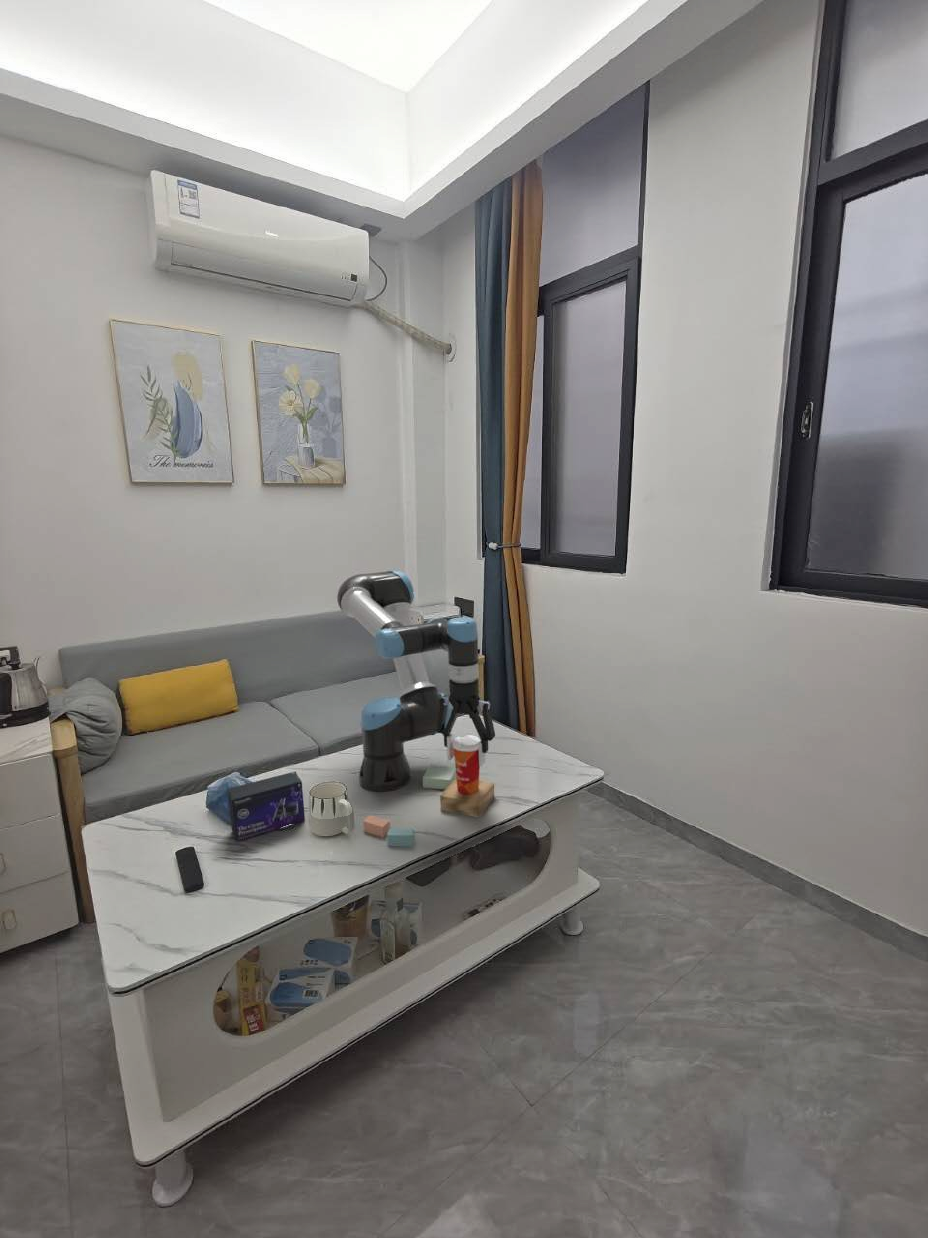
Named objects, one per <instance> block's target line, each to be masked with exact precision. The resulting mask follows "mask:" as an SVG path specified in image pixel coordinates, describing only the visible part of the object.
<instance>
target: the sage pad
mask: <svg viewBox="0 0 928 1238" xmlns="http://www.w3.org/2000/svg"><path fill="white" fill-rule="evenodd" d="M455 779H456V768H455V766H450V765H449V766H448V765H438V764H437V765H436V764H435V765H434V764H430V765H429V767H428V769H427V770H426V772H425V773H424V775H423V777H422V787H423V788H425V789H435V790H436V789H437V790H446V788H447V787H448V786H449V785H450V784H451V783H452V782H453V781H454V780H455Z"/></svg>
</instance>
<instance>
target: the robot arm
mask: <svg viewBox="0 0 928 1238" xmlns="http://www.w3.org/2000/svg"><path fill="white" fill-rule="evenodd" d="M414 595H415V594H414V587H413V584H412V582H411V579H410V578H409V576H408V575H407V574H406V573H405V572H402V571H401V570H395V571H394V570H388V571H380V572H373V573H360V574H355V575H353V576H350V577H348V578H347V579H346V580H344V581H343V583H341V585H340V586H339V588H338V591H337V596H336V597H337V604H338V607H339V609H340V610H341V611H342V612H343V613H344V614H345V615H346V616H348V617H349V618H354V619H355V620H356V621H357V622H358V623H360V625H361V626H362V627H363V628H364V629H366V631H367V632H368V633H370V634H371V635H372V636H373V638H374V643H375V649H376V651H377V654H378V655H379V657H381V658H382V659H384V660H385V659H392V660H393V663H394V666H395V669H396V673H397V677H398V679H399V683H400V688H401V690H402V691H401V693H400V696H399V698H396V697H382V698H378V699H375V700H373V701H370V702H369V703H367V704H366V705H365V706H364V707H362V710H361V713H360V727H361V735H362V736H361V737H362V749H363V752H362V753H363V757H362V762H361V765H360V769H359V773H358V779H359V784H360V786H361V787H362V788H364V789H366V790H368V791H373V792H390V791H394V790H395V791H396V790H398V789H400V788H403V787H404V786H406V785H408V783H409V782H411V780H412V769H411V766H410V764H409V761H408V759H407V756H406V754H405V748H404V743H406V742H409V741H414V740H418V739H421V738H425V737H428V736H435V735H437V734H442V736H443V745H444V747H445V748H446V751H447V753H446V755H447V761H451V760H452V759H454V758H455V756H454V748H453V746H452V745H453V743H454V740H455V736H454V735H455V734H454V733H451V732H452V731H453V730H452V729H453V728H454V725H455V723H456V721H457V718H458V716H459V714H461V715H462V714H464V715H467V716H469V719H471V721H472V723H473V725H474V727H475V729H476V732H477V734H478V736H479V737H478V738H479V739H480V741H479V742H478V746H479V765H480V767H483V765H484V764H485V763H486V753H488V751H489V742H490V741H493V740H494V739H495V737H496V733H495V732H496V731H495V728H494V722H493V717H492V713H491V705H492V701H490V700H487V701H484V700H482V699H481V698H480V696H479V693H480V690H479V689H480V684H479V682H480V681H479V679H478V678H479V676H480V675H479V660H478V659H479V649H478V648H479V647H478V646H479V645H478V644H479V640H478V639H479V638H478V637H479V633H478V627H477V622H476V620H475V619H474V618H471V617H461V616H460V617H455V618H454V617H453V618H451V619H448V620H447V619H444V618H440V617H439V618H438V617H434V618H431V619H429V620H428V621H426V622H422V623H418V624H417V623H415V624H412V621H411V617H410V615H409V613H410V610H411V608H412V604H413V602H414V598H415V596H414ZM438 650H443V651H445V652H447V656H448V657H447V658H448V677H449V678H448V679H449V681H448V682H449V684H448V685H449V686H448V687H449V696H447V695H446V694H445V693H444V692H438V691H439V690H438V689H437V686H436V685H435V684H433V683H431V682H430V680H429V676H428V673H427V670H426V666H425V663H424V660H423V657H422V653H427V652H433V651H434V652H435V651H438ZM451 706H452V710H451ZM478 707H480V710H481V712H482V717H481V716H480V712H479V709H478ZM482 719H483V720H482Z"/></svg>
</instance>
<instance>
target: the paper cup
mask: <svg viewBox="0 0 928 1238" xmlns="http://www.w3.org/2000/svg"><path fill="white" fill-rule="evenodd" d="M480 740H481V739H480V737H478V736H475V735H470V734H469V735H468V734H466V735H461V736H457V737H454V743H453V745H452V746H453V748H454V767H455V768H456V779H457V789H458V791H459V792H460V793H462V794H473V793H476V792H477V791H478V787H479V781H480V768H481V766H480V765H479V746H478V742H479V741H480Z"/></svg>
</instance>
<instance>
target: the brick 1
mask: <svg viewBox="0 0 928 1238" xmlns="http://www.w3.org/2000/svg"><path fill="white" fill-rule="evenodd" d="M362 823H363V824H362V825H363V826H362V827H363V832H366V833H369V834H372V835H374V836H378V837H380V838H381V837H382V838H384V837H387V834H388V831H389V828H391V821H390V820H389V819H384V818H381V817H378V816H375V815H373V814H370V815H369V816H368V817H366V818H365V819H363V821H362Z"/></svg>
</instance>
